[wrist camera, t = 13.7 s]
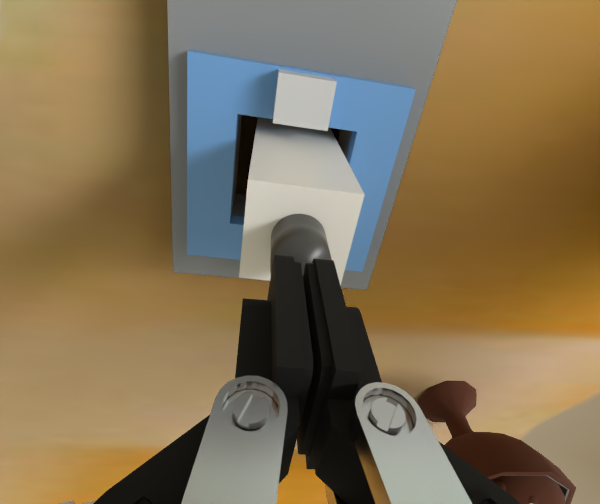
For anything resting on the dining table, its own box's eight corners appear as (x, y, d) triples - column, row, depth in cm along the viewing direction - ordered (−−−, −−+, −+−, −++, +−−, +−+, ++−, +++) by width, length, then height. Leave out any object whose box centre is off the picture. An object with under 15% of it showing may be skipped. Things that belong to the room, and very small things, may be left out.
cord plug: (328, 124, 21) (378, 221, 11) (316, 190, 24) (348, 321, 13) (258, 114, 21) (243, 204, 11) (251, 181, 23) (234, 312, 13)
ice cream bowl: (458, 341, 31) (585, 562, 19) (526, 394, 36) (667, 604, 23) (365, 405, 35) (417, 626, 22) (437, 447, 39) (514, 651, 27)
